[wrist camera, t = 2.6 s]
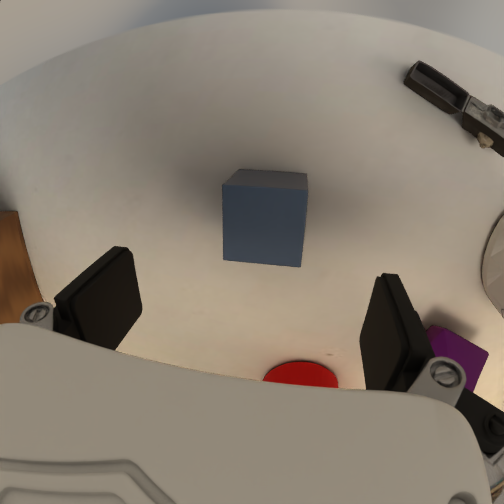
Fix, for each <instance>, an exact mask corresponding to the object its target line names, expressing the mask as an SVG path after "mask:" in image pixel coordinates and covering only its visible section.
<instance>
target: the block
mask: <svg viewBox="0 0 504 504" xmlns="http://www.w3.org/2000/svg"><path fill="white" fill-rule="evenodd" d="M307 201H308V181H307V174H304V173H292V172H279V171H263V170H245V169H239V170H238V171H237V172H236V173H235V174H234V175H232V176H231V177H230V178H229V179H228V180H227V181H226V182H225V183H224V184H223V185H222V211H223V260H228V261H238V262H248V263H258V264H269V265H279V266H290V267H301V261H302V252H303V243H304V233H305V222H306V212H307Z"/></svg>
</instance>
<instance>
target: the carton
mask: <svg viewBox="0 0 504 504" xmlns="http://www.w3.org/2000/svg"><path fill="white" fill-rule="evenodd" d="M37 302H43V300H42V297H41V294H40V291H39V288H38V285H37V283H36V280H35V276H34V273H33V270H32V267H31V264H30V260H29V257H28V253H27V250H26V246H25V242H24V238H23V234H22V230H21V226H20V222H19V217H18V212H17V211H0V324H6V323H19V322H20V316H21V314H22V312H23V311H24V310H25V309H26V308H27V307H28V306H30V305H32V304H34V303H37Z"/></svg>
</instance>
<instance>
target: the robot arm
mask: <svg viewBox="0 0 504 504" xmlns="http://www.w3.org/2000/svg"><path fill="white" fill-rule="evenodd" d="M54 300H55V303H56V307H55V308H53V306H52V305H51V303H48V302H37V303H34V304H32V305H30V306H28V307H27V308H26V309H25V310H24V311H23V312H22V314H21V316H20V322H19V323H6V324H0V504H504V412H503V411H501V410H500V409H498V408H496V407H495V406H493V405H492V404H490V403H489V402H487V401H485V400H484V399H482V398H481V397H479V396H478V395H476V394H474V393H473V392H471V391H470V390H468V389H467V388H465V387H464V386H465V384H466V373H465V371H464V369H463V368H462V367H461V366H460V364H459V363H457V362H456V361H454V360H452V359H450V358H447V357H436V356H435V354H434V351H433V349H432V346H431V344H430V341H429V339H428V336H427V334H426V331H425V329H424V327H423V324H422V322H421V320H420V317H419V315H418V313H417V312H416V311H415V310H414V308H413V306H412V304H411V301H410V299H409V297H408V295H407V293H406V290H405V288H404V286H403V284H402V282H401V280H400V278H399V276H398V274H388V273H383V274H382V275H381V277H377V278H376V280H375V284H374V288H373V292H372V295H371V299H370V303H369V306H368V310H367V314H366V317H365V320H364V324H363V327H362V330H361V334H360V348H361V355H362V362H363V369H364V376H365V384H366V390H360V389H345V388H327V387H314V386H302V385H292V384H283V383H274V382H266V381H259V380H251V379H245V378H238V377H232V376H226V375H220V374H214V373H209V372H203V371H198V370H193V369H188V368H183V367H179V366H174V365H170V364H165V363H161V362H157V361H152V360H148V359H144V358H140V357H136V356H132V355H129V354H125V353H121V352H118V351H115V350H116V348H117V347H118V345H119V344H120V343H121V341H122V340H123V338H124V337H125V336H126V334H127V333H128V332H129V330H130V329H131V327H132V326H133V325H134V323H135V322H136V321H137V319H138V318H139V317H140V315H141V313H142V303H141V298H140V293H139V287H138V282H137V277H136V271H135V265H134V259H133V254H132V252H131V251H129V249H128V248H127V247H119V246H114V247H112V248H111V249H110V250H109V251H107V252H106V253H105V254H104V255H103V256H101V257H100V258H99V259H98V260H96V261H95V262H94V263H93V264H92V265H91V266H89V267H88V268H87V269H86V270H85V271H83V272H82V273H81V274H80V275H79V276H78V277H77V278H75V279H74V280H73V281H72V282H71V283H70V284H69V285H67V286H66V287H65V288H64V289H63V290H62V291H61V292H60V293H58V294H57V295H56V296H55V297H54Z"/></svg>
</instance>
